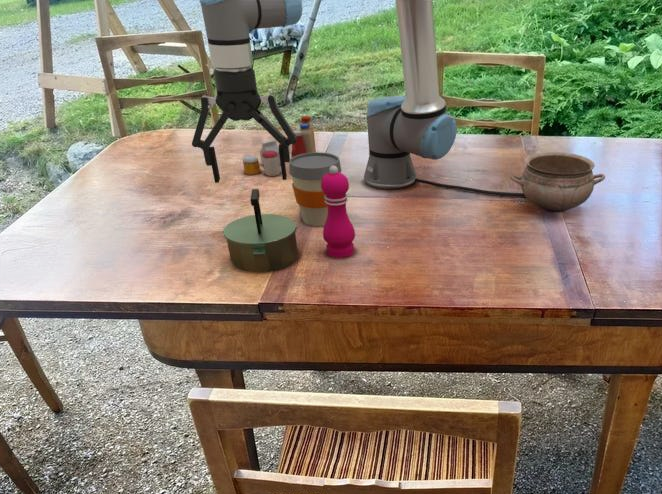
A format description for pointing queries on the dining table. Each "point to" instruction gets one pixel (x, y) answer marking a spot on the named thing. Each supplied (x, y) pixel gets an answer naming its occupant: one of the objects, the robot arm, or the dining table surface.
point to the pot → (264, 255)
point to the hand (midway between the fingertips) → (251, 179)
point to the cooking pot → (557, 180)
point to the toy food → (271, 151)
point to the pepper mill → (337, 215)
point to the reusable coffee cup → (311, 184)
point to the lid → (259, 227)
